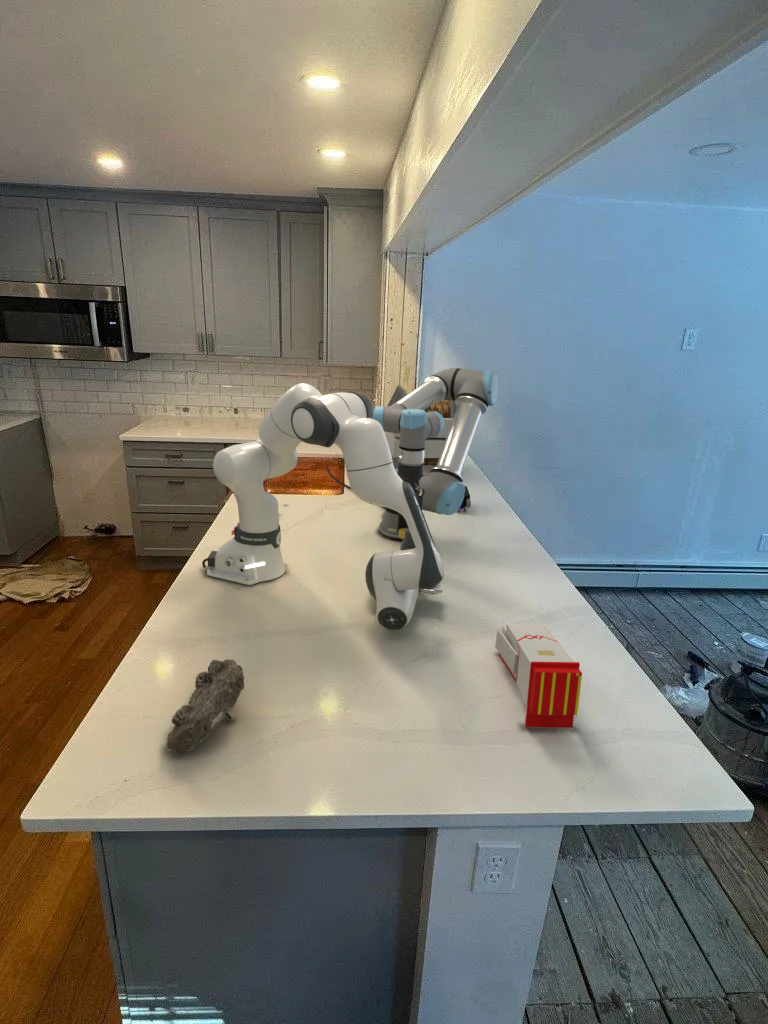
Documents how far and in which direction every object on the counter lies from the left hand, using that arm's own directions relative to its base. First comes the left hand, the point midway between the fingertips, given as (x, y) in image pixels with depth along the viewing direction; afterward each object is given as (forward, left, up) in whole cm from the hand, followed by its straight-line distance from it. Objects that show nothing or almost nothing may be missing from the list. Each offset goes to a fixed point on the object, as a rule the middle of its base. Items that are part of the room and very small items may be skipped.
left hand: (409, 566), depth 159 cm
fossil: (-29, -62, -7) cm, 69 cm away
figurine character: (+11, +75, -7) cm, 76 cm away
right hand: (-3, +16, +2) cm, 16 cm away
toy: (+32, -38, -7) cm, 50 cm away
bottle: (0, -1, -7) cm, 7 cm away
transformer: (-11, +120, -7) cm, 121 cm away
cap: (-3, +16, +4) cm, 17 cm away
